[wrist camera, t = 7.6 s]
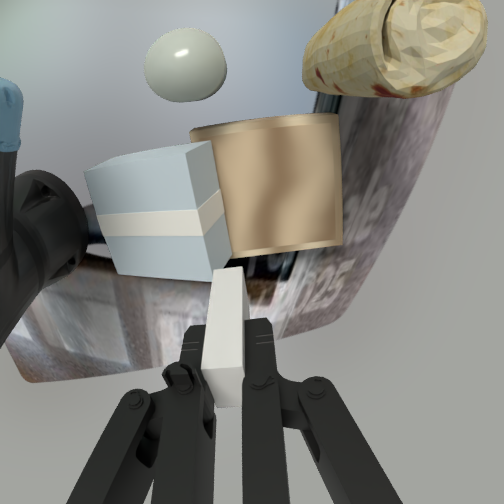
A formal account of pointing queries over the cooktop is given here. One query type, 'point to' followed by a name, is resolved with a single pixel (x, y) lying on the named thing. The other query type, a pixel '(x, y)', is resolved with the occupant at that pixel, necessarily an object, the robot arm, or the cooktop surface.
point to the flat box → (162, 212)
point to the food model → (395, 48)
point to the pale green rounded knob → (185, 66)
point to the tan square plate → (279, 181)
